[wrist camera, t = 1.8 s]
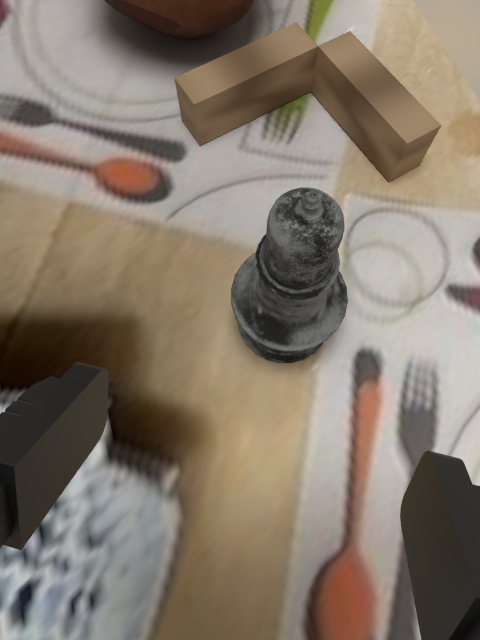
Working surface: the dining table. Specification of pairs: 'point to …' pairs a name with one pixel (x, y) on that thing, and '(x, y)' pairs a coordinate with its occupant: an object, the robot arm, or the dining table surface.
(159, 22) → the butternut squash
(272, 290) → the salt shaker
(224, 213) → the dining table surface
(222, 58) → the v block
